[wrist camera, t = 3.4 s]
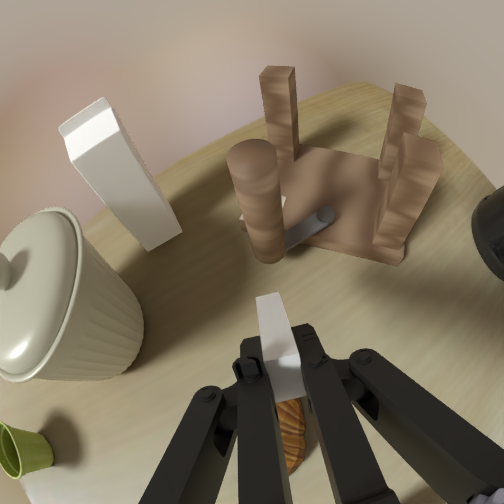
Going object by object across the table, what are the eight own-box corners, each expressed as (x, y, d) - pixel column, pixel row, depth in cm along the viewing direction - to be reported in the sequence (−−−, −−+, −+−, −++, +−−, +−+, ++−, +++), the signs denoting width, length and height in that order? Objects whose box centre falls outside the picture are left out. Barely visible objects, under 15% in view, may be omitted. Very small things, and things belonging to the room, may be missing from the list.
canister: (135, 423, 26) (-13, 419, 8) (53, 356, 31) (-56, 309, 13) (190, 297, 33) (85, 187, 15) (99, 258, 39) (10, 173, 20)
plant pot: (68, 479, 21) (28, 485, 14) (36, 471, 21) (-1, 472, 14) (53, 425, 26) (11, 422, 18) (24, 423, 26) (-13, 418, 18)
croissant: (281, 501, 20) (278, 519, 15) (224, 483, 22) (212, 498, 17) (324, 400, 25) (329, 402, 21) (264, 383, 27) (258, 383, 23)
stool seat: (400, 177, 37) (426, 89, 23) (397, 266, 31) (452, 176, 17) (275, 152, 43) (263, 63, 29) (242, 230, 37) (210, 131, 22)
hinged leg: (323, 204, 33) (329, 104, 21) (341, 224, 32) (359, 124, 19) (248, 248, 32) (217, 153, 19) (265, 272, 30) (241, 180, 17)
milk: (138, 225, 40) (59, 118, 21) (171, 205, 41) (103, 88, 22) (148, 253, 37) (53, 140, 18) (184, 232, 38) (106, 104, 19)
